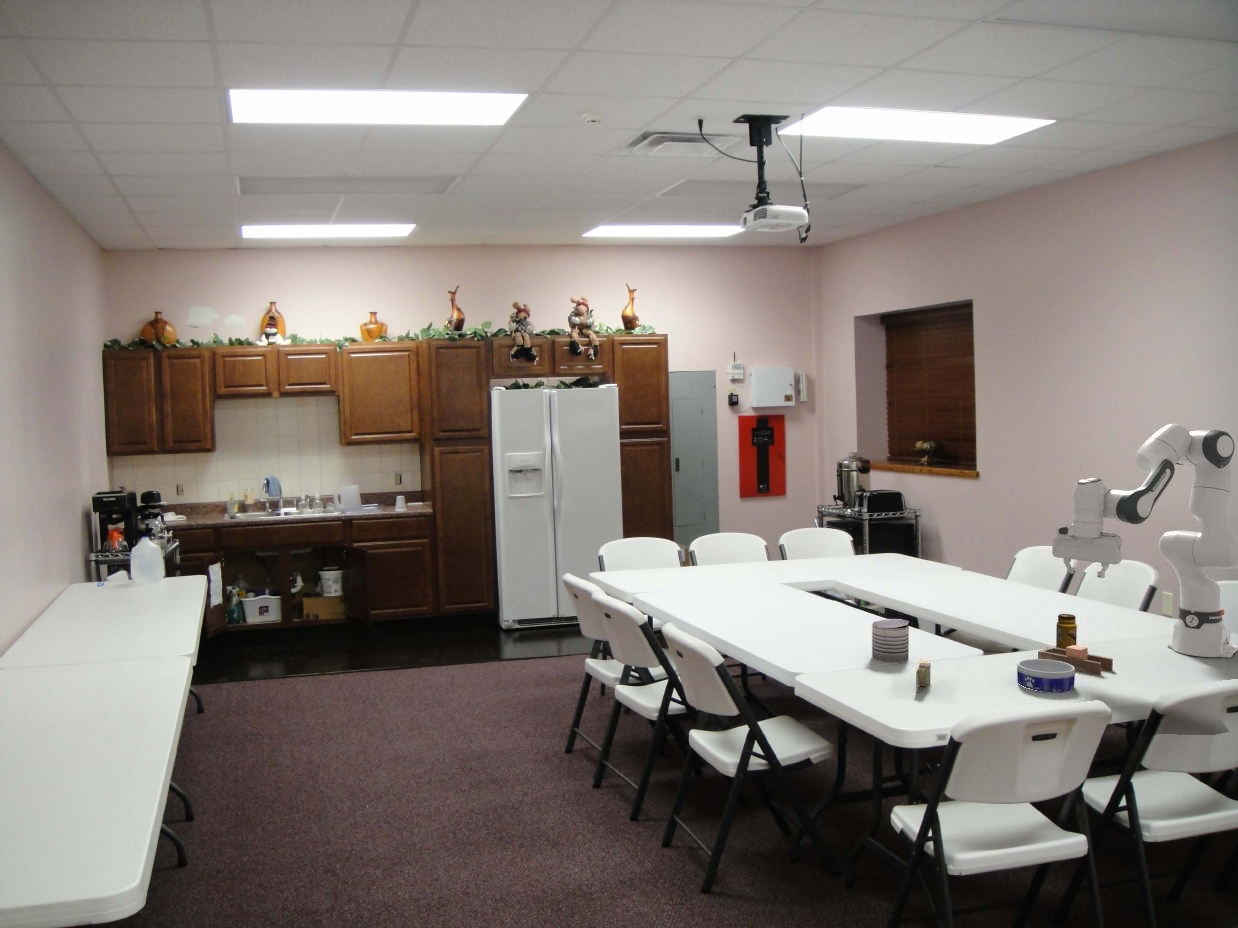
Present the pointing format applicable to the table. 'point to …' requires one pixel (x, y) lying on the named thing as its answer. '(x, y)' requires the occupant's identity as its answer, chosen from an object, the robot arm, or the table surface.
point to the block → (1077, 652)
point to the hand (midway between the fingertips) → (1085, 575)
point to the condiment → (1066, 631)
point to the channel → (1078, 660)
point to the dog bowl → (1046, 675)
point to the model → (923, 674)
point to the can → (890, 640)
